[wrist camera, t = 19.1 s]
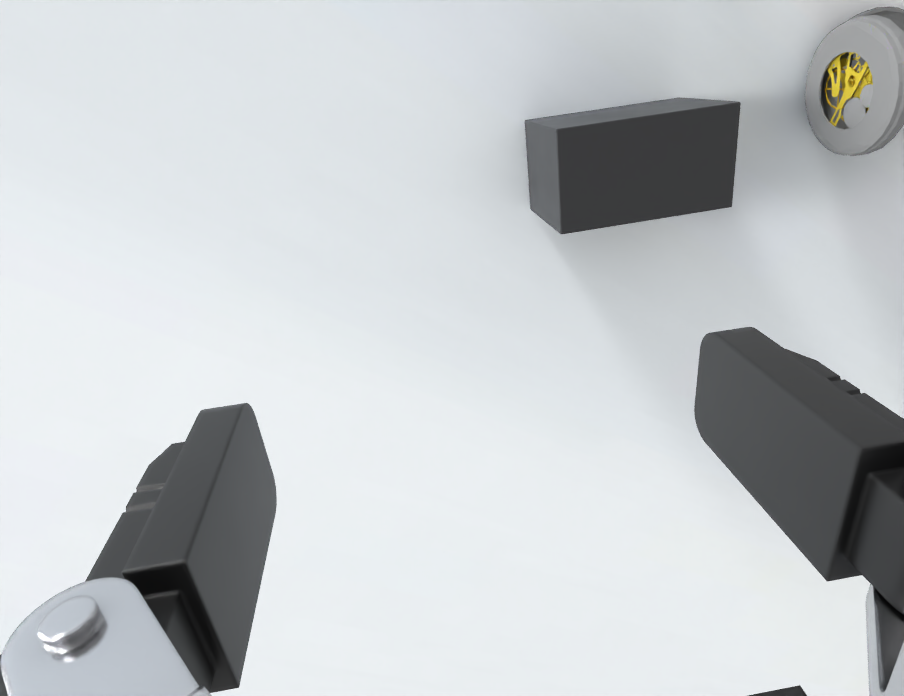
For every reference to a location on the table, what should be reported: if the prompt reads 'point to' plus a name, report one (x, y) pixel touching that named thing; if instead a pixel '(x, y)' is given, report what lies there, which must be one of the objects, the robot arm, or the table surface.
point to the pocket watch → (858, 83)
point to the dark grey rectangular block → (632, 162)
